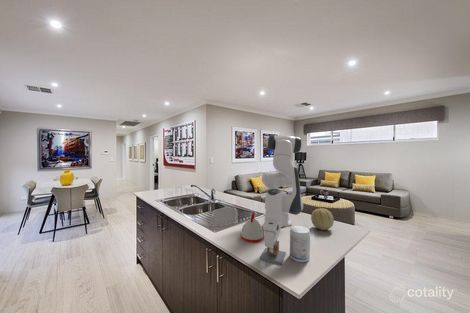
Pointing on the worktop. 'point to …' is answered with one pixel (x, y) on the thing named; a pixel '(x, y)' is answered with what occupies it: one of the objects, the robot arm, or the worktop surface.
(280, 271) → the worktop surface
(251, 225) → the kitchen timer
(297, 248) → the supplement tub
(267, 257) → the slate coaster
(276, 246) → the walnut block
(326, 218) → the cantaloupe
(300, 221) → the worktop surface
